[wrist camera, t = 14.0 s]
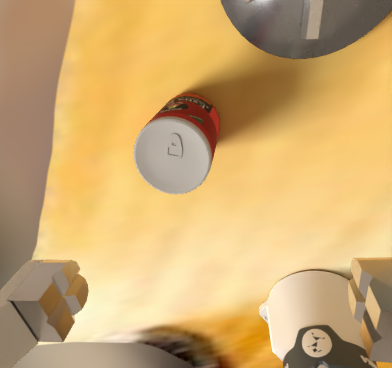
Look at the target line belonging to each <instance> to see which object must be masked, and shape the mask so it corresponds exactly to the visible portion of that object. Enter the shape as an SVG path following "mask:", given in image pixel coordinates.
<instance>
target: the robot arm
mask: <svg viewBox="0 0 392 368" xmlns="http://www.w3.org/2000/svg"><path fill="white" fill-rule="evenodd" d="M350 269H351V272H352V274H353V278H352V279H351V280H348V279H346V278H344V277H342V276H340V275H337V274H334V273H330V272H325V271H305V272H299V273H295V274H292V275H290V276H287V277H285V278H284V279H282V280H280V281H279V282H278V283H277V284H276V285H275V286H274V287H273V288H272V290H271V292H270V295H269V297H268V299H267V300H266V301H265V302H264V303H263V304H262V305H261V306H260V307H259V313H260V315H261V317H262V318H263V319H264V320H265V321H266V322H267V323H268V324H269V330H270V338H271V345H272V350H273V353H275V354H276V355H277V357H278V358H279V359H281V360H282V361H283V368H378V367H377V364H376V361H379V362H390V363H392V257H391V258H353V260H352V262H351V268H350ZM79 271H80V267H79V266H78V264H77V262H76V261H72V260H30V261H28V262H26V263H25V264H24V265H23V266H22V267H21V268H20V270H19V271H18V272H17V273H16V274H15V275H14V276H13V277H12V278H11V279H10V280H9V282H8V283H7V284H6V285H5V286H4V287H3V288H2V289H1V290H0V368H11V367H13V366H14V365H15V364H16V363H17V362H18V361H19V360H20V359H21V358H22V357H24V356H25V355H26V354H27V353H28V352H29V351H30V350H31V349H32V348H34V347H35V346H36V345H37V344H38V342H64V340H65V338H66V336H67V335H68V333H69V331H70V329H71V328H72V326H73V324H74V322H75V319H74V315H75V314H76V313H78V312H79V311H80V310H82V308H83V306H84V305H85V303H86V301H87V296H88V284H87V282H86V280H85V279H84V278H83V277H82V276H81V275H79Z"/></svg>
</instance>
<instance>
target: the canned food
mask: <svg viewBox="0 0 392 368" xmlns="http://www.w3.org/2000/svg"><path fill="white" fill-rule="evenodd" d="M219 129H220V122H219V117H218V114H217V112H216V110H215V108H214V107H213V105H212V104H211V103H210V102H209V101H208V100H206V99H205V98H203V97H201V96H199V95H196V94H181V95H178V96H176V97H174V98H173V99H171V100H170V101H169V102H168V103H167V104H166V105H165V106H164V107H163V108H162V109H161V110H160V111H159V112H158V113H157V114H156V115H155V116H154V117H153V118H152V119H151V120H150V121H149V122H148V123H147V124H146V126H145V127H144V128H143V129H142V130H141V132H140V134H139V135H138V137H137V139H136V142H135V145H134V160H135V164H136V167H137V169H138V171H139V173H140V175H141V176H142V177H143V179H144V180H145V181H146V182H147V183H148V184H149V185H151V186H152V187H154V188H155V189H157V190H159V191H162V192H165V193H169V194H183V193H187V192H190V191H192V190H194V189H196V188H197V187H198V186H200V185H201V184H202V182H203V181H204V180H205V179H206V177H207V175H208V173H209V171H210V168H211V164H212V161H213V157H214V152H215V148H216V143H217V139H218V135H219Z"/></svg>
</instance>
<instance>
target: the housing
mask: <svg viewBox="0 0 392 368" xmlns="http://www.w3.org/2000/svg"><path fill="white" fill-rule="evenodd" d="M221 3H222V5H223V7H224V10H225V12H226V14H227V16H228V17H229V19H230V20H231V22H232V24H233V25H234V26H235V28H236V29H237V30H238V31H239V32H240V34H241V35H242V36H243V37H245V38H246V39H247V40H248V41H249V42H250V43H252V44H253V45H255V46H256V47H258V48H259V49H261V50H263V51H265V52H267V53H270V54H273V55H276V56H279V57H285V58H291V59H306V58H314V57H319V56H323V55H327V54H330V53H333V52H335V51H338V50H340V49H342V48H344V47H346V46H348V45H350V44H352V43H354V42H355V41H357V40H358V39H360V38H361V37H363V36H364V35H366V34H367V33H368V32H369V31H371V30H372V29H373V28H374V27H375V26H376V25H378V24H379V23H380V22H381V21H382V20H383V19H384V18H385V17H386V16H387V15H388V14H389V13H390V11H391V10H392V0H323V7H322V14H321V22H320V29H319V36H318V39H304V38H301V37H300V33H301V24H302V15H303V6H304V0H252V1H251V2H249V3H248V4H247V5H246V3H245V1H244V0H221Z"/></svg>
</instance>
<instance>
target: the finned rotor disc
mask: <svg viewBox="0 0 392 368" xmlns="http://www.w3.org/2000/svg"><path fill="white" fill-rule="evenodd" d="M244 1H245V3H246V5H247V4H248V3H249V2H251V1H252V0H244ZM322 7H323V0H304V6H303V15H302V24H301V33H300V37H301V38H304V39H318V36H319V29H320V22H321V14H322Z"/></svg>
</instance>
